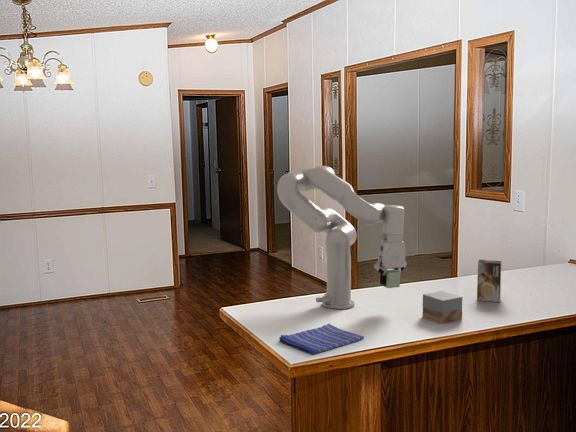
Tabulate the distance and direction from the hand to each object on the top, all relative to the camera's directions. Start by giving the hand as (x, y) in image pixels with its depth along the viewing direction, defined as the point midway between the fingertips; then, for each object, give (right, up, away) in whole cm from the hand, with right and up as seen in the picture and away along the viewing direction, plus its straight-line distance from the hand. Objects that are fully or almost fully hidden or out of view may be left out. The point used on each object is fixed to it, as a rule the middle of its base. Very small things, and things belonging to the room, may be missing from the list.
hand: (389, 283), depth 237 cm
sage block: (0, -1, 0) cm, 1 cm away
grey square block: (+18, -8, -10) cm, 22 cm away
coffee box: (+44, -9, +17) cm, 47 cm away
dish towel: (-28, -16, -33) cm, 46 cm away
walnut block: (+18, -12, -9) cm, 23 cm away
